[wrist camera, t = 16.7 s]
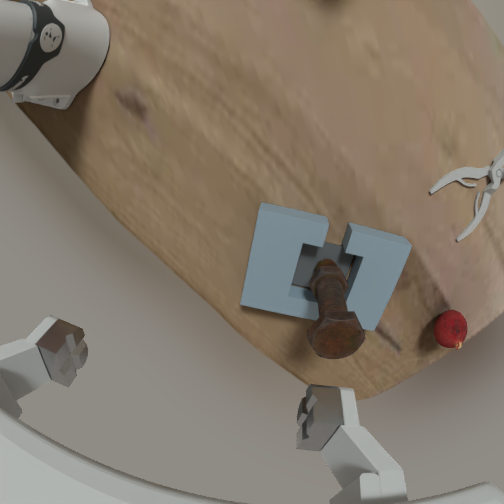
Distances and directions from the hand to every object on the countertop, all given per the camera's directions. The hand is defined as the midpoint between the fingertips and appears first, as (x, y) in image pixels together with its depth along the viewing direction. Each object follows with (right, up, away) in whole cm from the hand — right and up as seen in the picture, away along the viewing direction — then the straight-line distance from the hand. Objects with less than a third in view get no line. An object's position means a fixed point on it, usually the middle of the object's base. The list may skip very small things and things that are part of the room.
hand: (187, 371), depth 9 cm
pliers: (+34, +14, +23) cm, 44 cm away
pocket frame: (+12, +2, +31) cm, 34 cm away
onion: (+34, -6, +32) cm, 47 cm away
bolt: (+12, +2, +31) cm, 34 cm away
